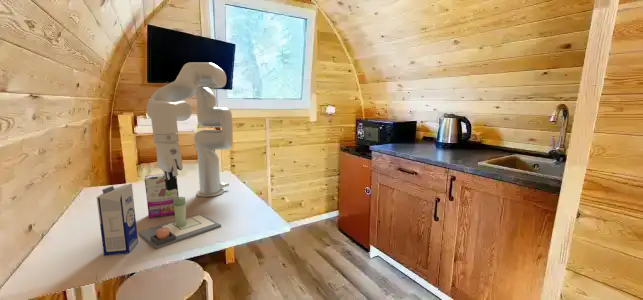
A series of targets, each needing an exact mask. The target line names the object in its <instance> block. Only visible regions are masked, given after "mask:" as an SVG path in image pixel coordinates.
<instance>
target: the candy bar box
mask: <svg viewBox="0 0 643 300" xmlns="http://www.w3.org/2000/svg"><path fill="white" fill-rule="evenodd" d="M176 177H178V175H177V176H176ZM176 181H177V182H178V178H176ZM144 185H145V193H146V203H147V211H148V219H155V218H161V217H167V216H172V215H173V216H175V210H174V201H173V199H174V198H177V197H180V195H179V188H178V187H179V185H178V183H177V189H174V190H170V191H168V190H166V185H165V178H164V173H160V174H158V173H157V174H150V175H145V177H144Z"/></svg>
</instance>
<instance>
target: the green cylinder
mask: <svg viewBox="0 0 643 300" xmlns="http://www.w3.org/2000/svg"><path fill="white" fill-rule="evenodd" d="M173 201H174V210H175V214H174V221H175V223H176V227H183V226H186V225H187V221H186V218H187V207H186V197H185V196H179V197H177V198H174V199H173Z"/></svg>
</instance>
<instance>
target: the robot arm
mask: <svg viewBox="0 0 643 300" xmlns="http://www.w3.org/2000/svg"><path fill="white" fill-rule="evenodd" d="M226 84H227V74H226V72H225V70H223V69H222V67H220V66H218V65H217V64H215V63H213V62H203V61H202V62H197V61H196V62H194V61H193V62H191V61H190V62H187V63H185V64H183V66H182V67H181V69H180V71H179V73H178V74H177V76H176V79H175V80H174V81H172V82H169V83H168V84H166V85H164V86H162V87H160V88H158V89H157V90H156V91H154V92H153V94H152V95H151V97H150V98H149V100H148V103H147V105H146V114H147V116H148V117H149V119H151V128H152V137H153V144H155V146H156V147H155V149H156V160H157V167H158V168H159V169H160V170H162V172H163V174H164V178H165V185H166V190H168V191H170V190H174V189H177V184H178V180H177V181H176V178H177V177H178V176H179V172H178V171H182V170H183V169H184V166H183V159H182V154H181V150H180V149H181V148H180V145H179V142H180V141H179V140H180V139H179V132H178V122H184V121H187V120H188V119H189V118H190V117H191V115H192V113H193V112H192V111H193V110H192V107H191V104H190V103H189V102H187V101H186V99H189V98H192V97H194V96H196V109H197V110H196V114H197V115H196V116H197V118H196V119H197V123H198V125H199V126H200V127H203V128H221V129H202V130H199V131H197V132H195V134H194V136H193V137H194V138H193V139H194V144H195V149H196V153H197V167H198V179H199V181H198V182H199V183H198V184H199V189H198V190H197V192H196V195H197V196H198V197H202V198H206V197H207V198H210V197H211V198H212V197H215V196H217V197H218V196H220V195H222V194H223V193H224V191H225V190H224V188H225V187H229V186H230V183H229V182H225V183H224V182H221V178H220V177H221V176H220V175H221V173H220V160H219V159H220V158H219V156H218V154H217V153H216V151H215V150H218V151H219V150H221V151H222V150H229V149H231V148H232V147H233V139H234V137H233V135H234V133H233V131H234V130H233V114H232V111H231V109H229V108H228V107H222V106H221V107H219V106H218V107H217V99H216V98H217V97H216V96H215V94H214V93H213V91H212V90H211V88H215V89H217V88H219V89H220V88H222V89H223V88H224V87H225V86H226ZM176 176H177V177H176ZM177 179H178V178H177Z"/></svg>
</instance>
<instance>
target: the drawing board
mask: <svg viewBox="0 0 643 300" xmlns="http://www.w3.org/2000/svg"><path fill="white" fill-rule="evenodd" d="M186 221H187V225H186V226H183V227H176V223H175V220H174V221H170V222H167V223H164V224H161V225H157V226H154V227H150V228H147V229H143V230H140V231H137V234H139V235H140V236H141V238H143V239H144V240H145V241H146V242H148V243H149V244H150V246H152V247H153V248H154V249H156V250H157V249H160V248H162V247H163V248H164V247H165V246H169V245H172V244H174V243H179V242H180V241H183V240H186V239H190V238H191V237H192V238H193V237H195V236H198V235H200V234H204V233H206V232H209V231H214V230H215V229H218V228H221V227H222V224H221V223H218V221H215V220H214V219H211V218H209V217H208V216H205V215H203V214H201V213H197V214H194V215H191V216H188V217H187V216H186ZM160 228H169V236H170V237H167V238H164V239H161V240H157V234H156V230H158V229H160Z"/></svg>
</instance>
